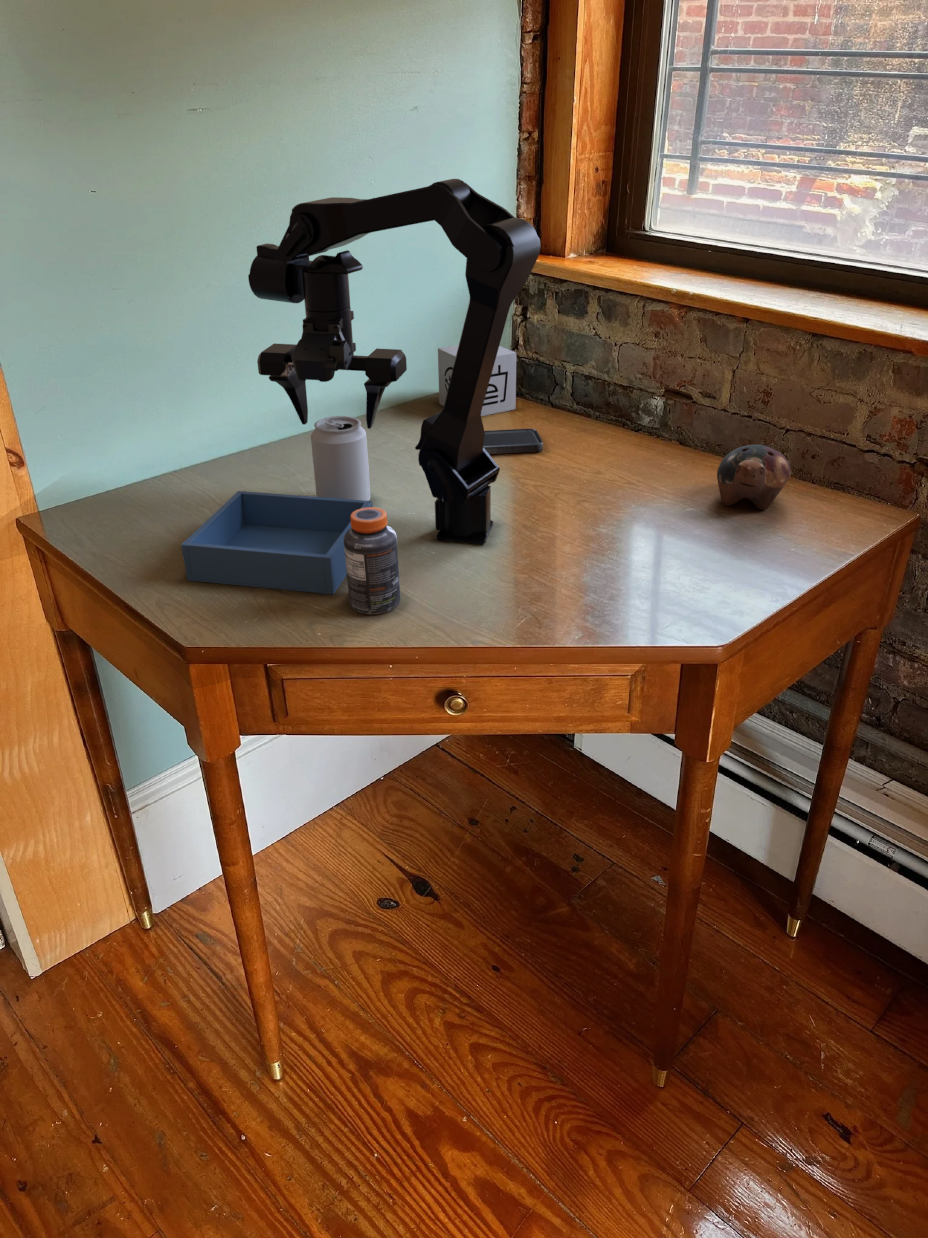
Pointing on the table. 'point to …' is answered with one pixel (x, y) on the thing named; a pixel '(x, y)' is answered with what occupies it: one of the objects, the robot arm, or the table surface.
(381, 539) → the pill bottle
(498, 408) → the icon cube
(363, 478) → the can
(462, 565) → the table surface
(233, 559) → the tub
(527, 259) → the robot arm
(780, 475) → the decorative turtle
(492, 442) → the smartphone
